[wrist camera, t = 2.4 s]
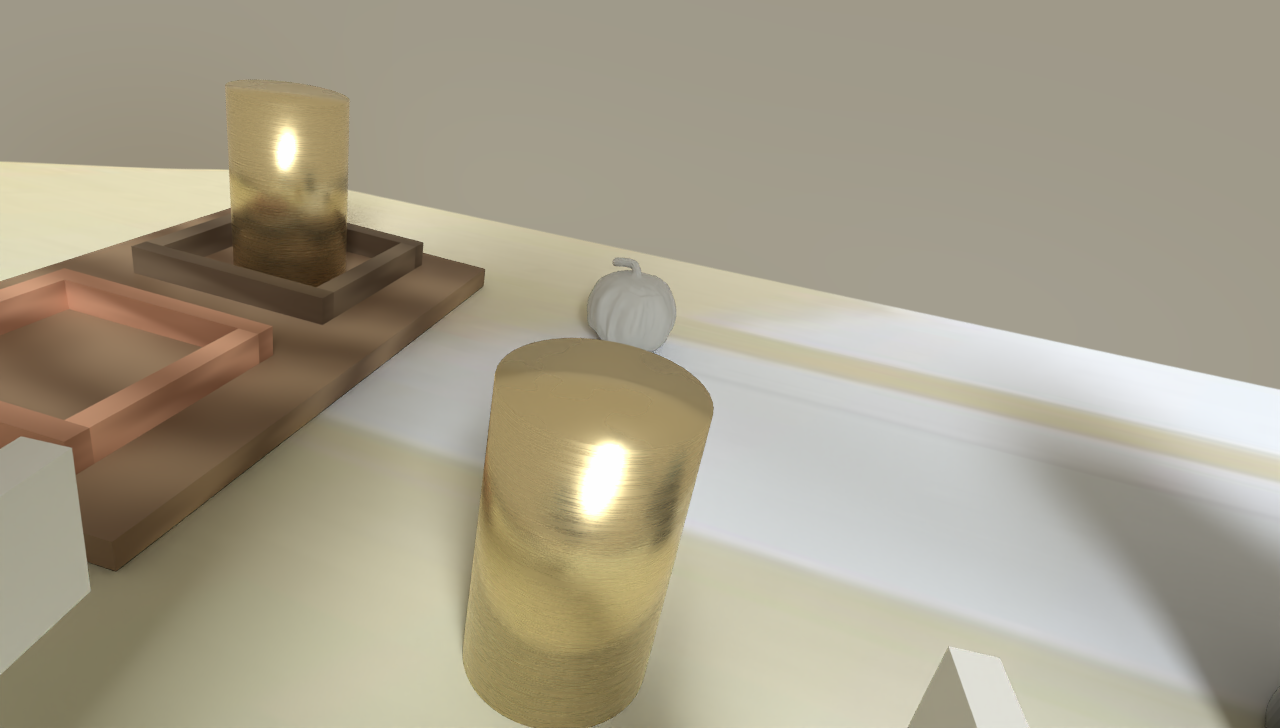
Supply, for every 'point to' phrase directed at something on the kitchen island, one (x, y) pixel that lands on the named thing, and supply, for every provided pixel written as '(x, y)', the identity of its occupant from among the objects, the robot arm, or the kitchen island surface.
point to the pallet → (196, 362)
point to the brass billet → (578, 526)
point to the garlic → (632, 307)
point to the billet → (288, 179)
